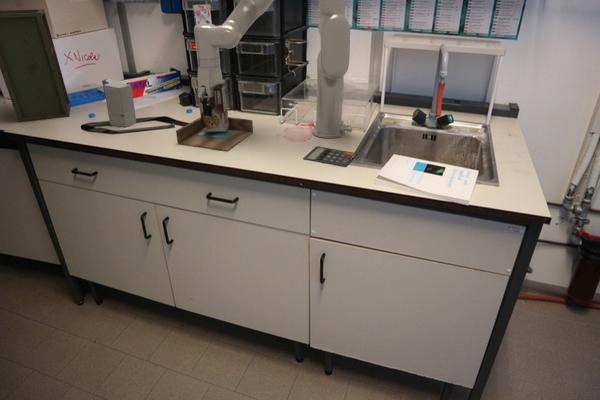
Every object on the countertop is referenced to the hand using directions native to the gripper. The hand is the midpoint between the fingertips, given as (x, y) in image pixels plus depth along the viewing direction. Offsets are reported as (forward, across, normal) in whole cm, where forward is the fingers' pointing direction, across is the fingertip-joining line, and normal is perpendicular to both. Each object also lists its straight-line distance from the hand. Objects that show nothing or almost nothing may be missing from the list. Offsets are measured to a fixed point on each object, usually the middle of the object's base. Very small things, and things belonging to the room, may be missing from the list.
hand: (214, 112), depth 150 cm
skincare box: (+9, +2, -41) cm, 42 cm away
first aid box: (+9, +3, -82) cm, 83 cm away
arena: (+9, +3, +2) cm, 9 cm away
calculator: (+9, +5, +46) cm, 47 cm away
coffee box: (+7, 0, 0) cm, 7 cm away
